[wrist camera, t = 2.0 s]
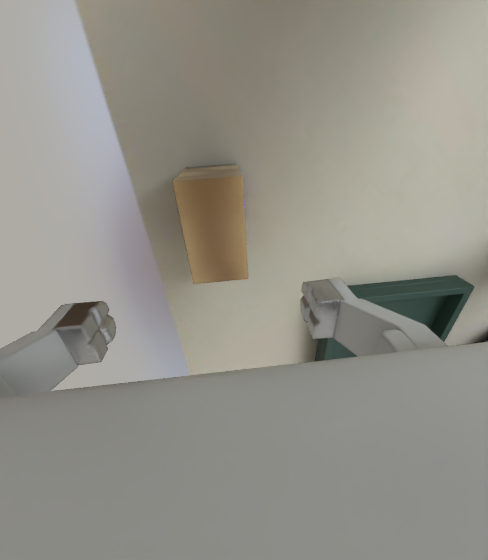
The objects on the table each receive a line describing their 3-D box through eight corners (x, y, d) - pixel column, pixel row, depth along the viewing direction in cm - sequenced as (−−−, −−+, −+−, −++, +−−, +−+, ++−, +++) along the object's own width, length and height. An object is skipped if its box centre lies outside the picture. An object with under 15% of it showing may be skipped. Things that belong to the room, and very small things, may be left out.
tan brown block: (199, 250, 22) (193, 284, 17) (184, 167, 18) (172, 181, 13) (242, 246, 22) (248, 279, 17) (236, 163, 19) (242, 175, 14)
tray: (325, 287, 26) (334, 300, 24) (456, 275, 26) (475, 286, 24) (308, 401, 37) (313, 416, 35) (399, 391, 38) (409, 405, 36)
